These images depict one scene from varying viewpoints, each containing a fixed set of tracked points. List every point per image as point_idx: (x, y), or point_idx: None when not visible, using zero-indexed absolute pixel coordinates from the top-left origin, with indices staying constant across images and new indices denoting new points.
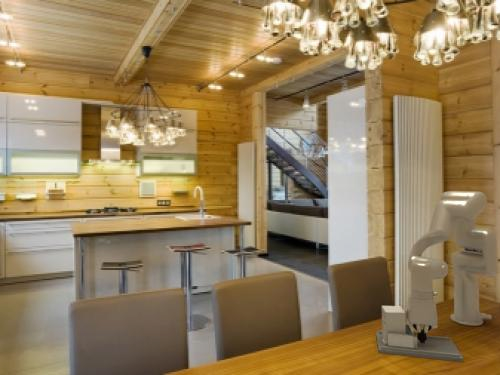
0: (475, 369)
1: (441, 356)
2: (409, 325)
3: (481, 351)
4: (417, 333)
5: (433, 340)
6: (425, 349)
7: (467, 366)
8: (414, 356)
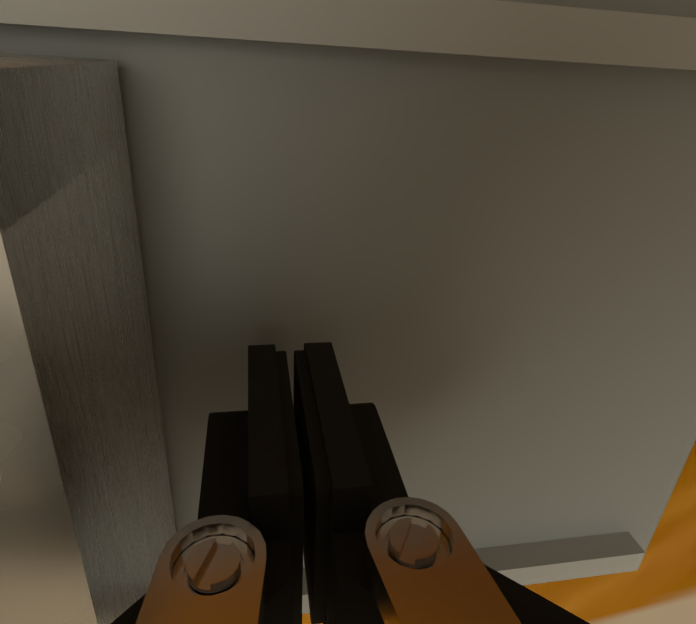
0: (642, 599)
1: None
2: None
3: None
4: (202, 498)
5: (534, 154)
6: None
7: (608, 580)
8: None
